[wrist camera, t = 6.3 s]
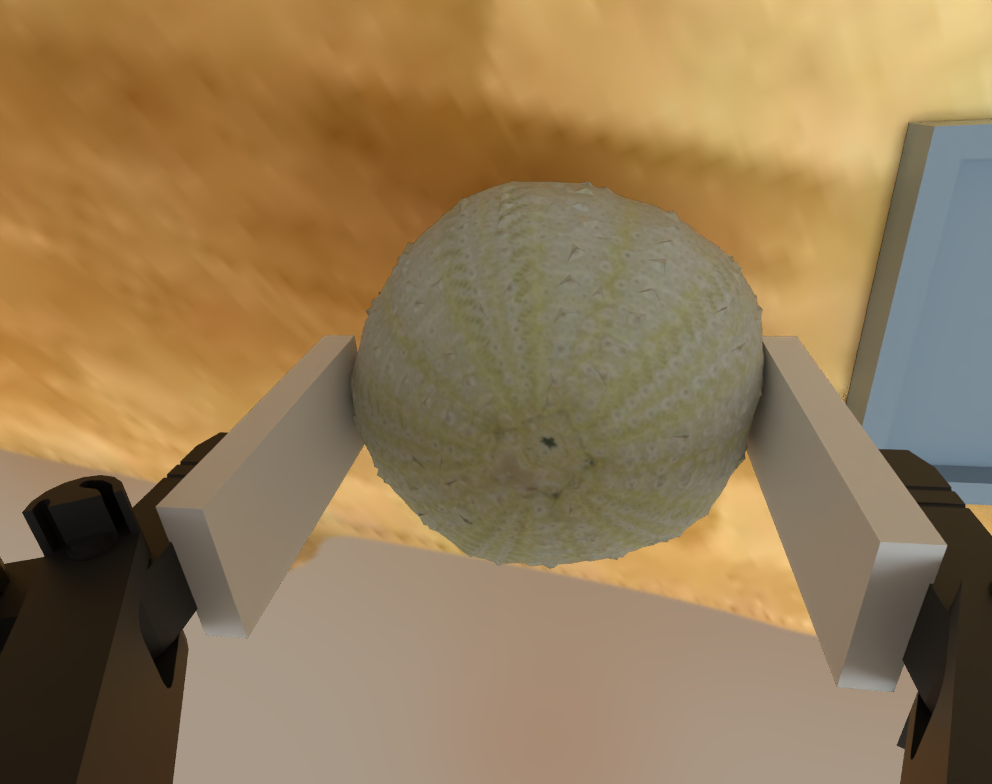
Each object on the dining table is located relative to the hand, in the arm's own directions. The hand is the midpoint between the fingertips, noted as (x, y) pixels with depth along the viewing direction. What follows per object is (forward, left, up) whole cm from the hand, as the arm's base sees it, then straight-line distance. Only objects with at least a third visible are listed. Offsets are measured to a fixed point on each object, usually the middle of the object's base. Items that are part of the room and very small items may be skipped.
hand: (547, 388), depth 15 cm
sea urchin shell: (0, 0, -2) cm, 2 cm away
